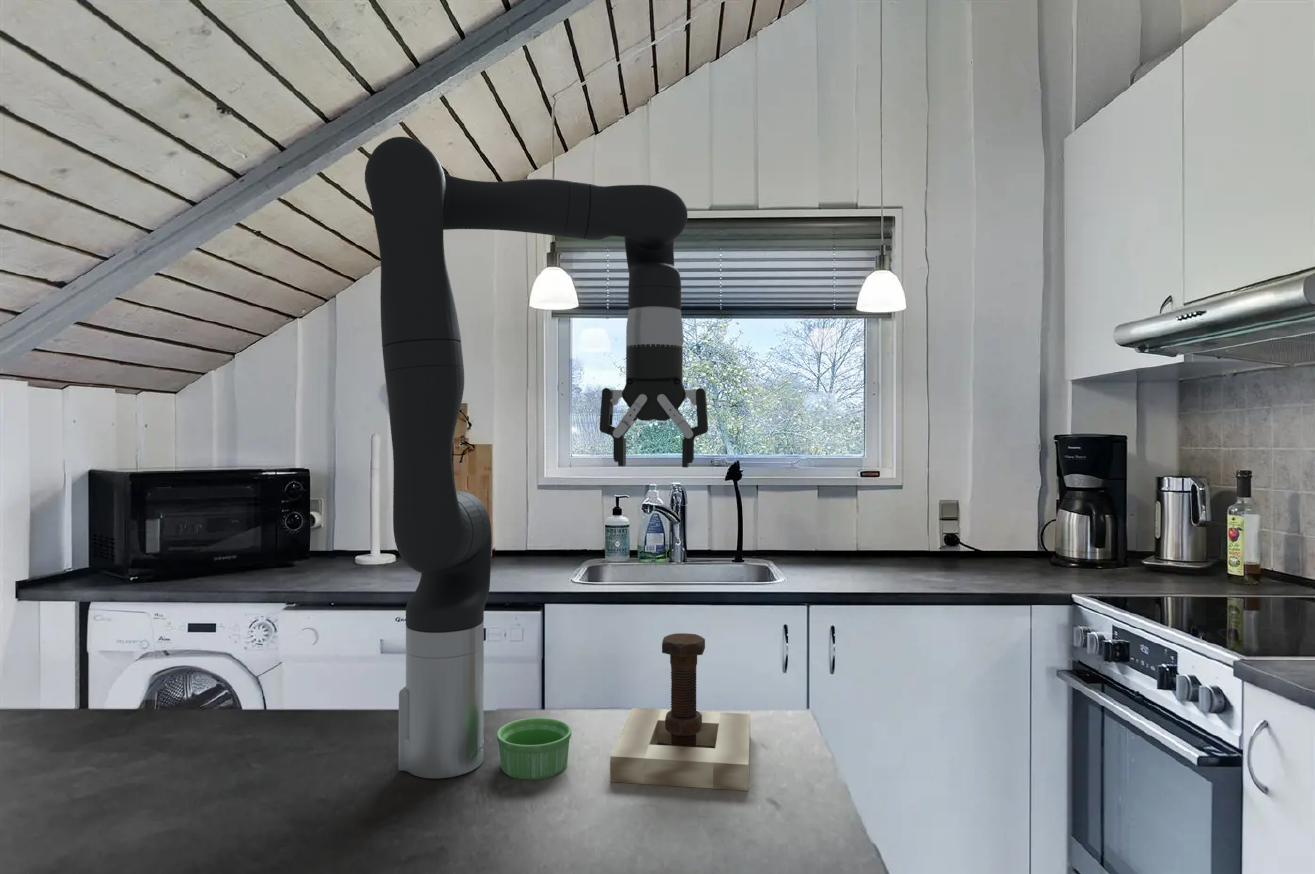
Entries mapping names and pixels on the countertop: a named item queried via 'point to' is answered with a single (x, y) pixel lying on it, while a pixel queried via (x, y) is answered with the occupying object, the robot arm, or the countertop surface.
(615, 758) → the frame
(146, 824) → the countertop surface
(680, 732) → the bolt
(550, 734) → the ramekin
